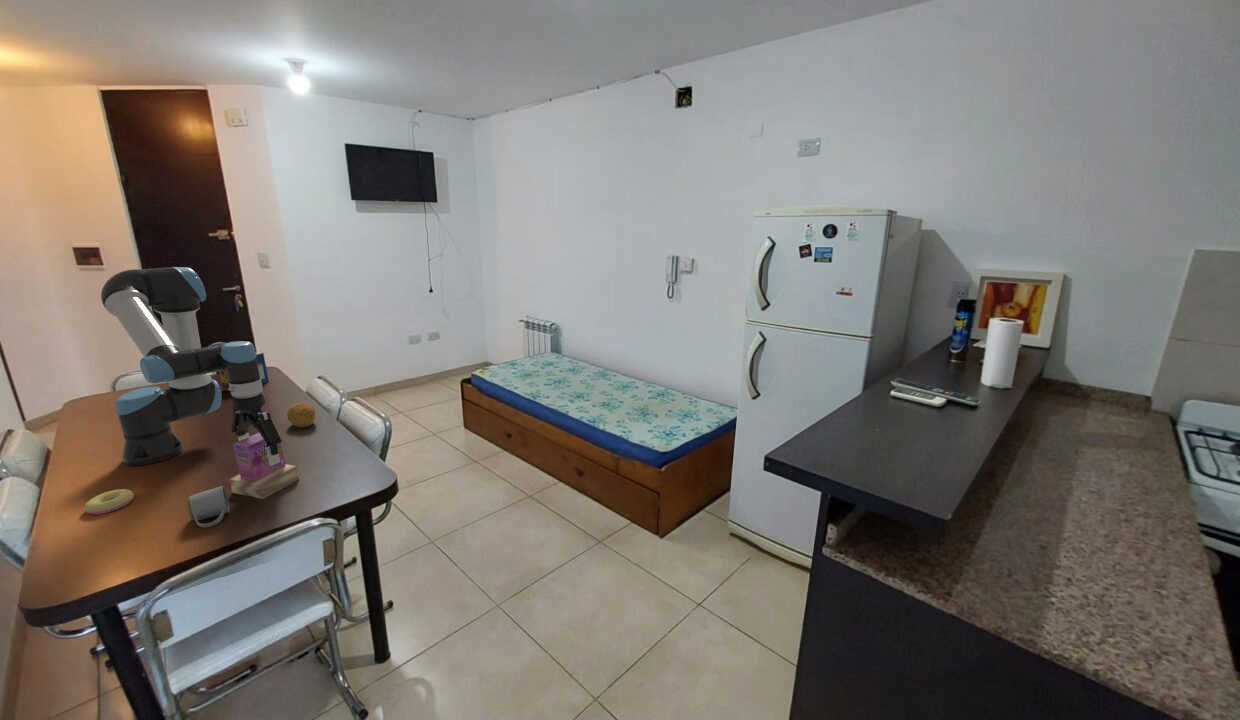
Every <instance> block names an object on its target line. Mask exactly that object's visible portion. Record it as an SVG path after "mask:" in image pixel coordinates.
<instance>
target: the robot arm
mask: <svg viewBox="0 0 1240 720" xmlns="http://www.w3.org/2000/svg"><path fill="white" fill-rule="evenodd" d="M100 300H101V303H102V305H103V307H104V309H105V311H107V312H108V313H109V314H111V315H112V316H115V317H116V318H117V320H118V321H119V323H121V325H122V327H123V329H124V330H125V331H126V332H127V334H128V336H129V337H130V338H131V340H132V341H133V343H134V344H135V346H136V347H137V348H138V350H139V351H140V353H141V354H142V356H143V357H142V358H140V360H139V366H140V367H139V368H140V371H141V373H142V375H143V378H144V379H145V381H146V382H148V383H149V384H158V383H164V382H166V383H168V388H165V389H162V388H160V387H159V386H148V387H141V388H137V389H133V390H131V391H129V392H126V393H123V394H121V395H120V396H118V398H117V399H115V402H114V408H115V414H116V415H117V418H118V422H119V425H120V428H121V431H122V435H123V438H124V444H123V448H122V455H121V459H122V461H123V464H124V465H126V466H131V467H133V466H134V467H136V466H139V467H140V466H145V465H151V464H155V463H160V462H164V461H166V460H168V459H171V458H173V457H176V456H178V455H180V454H181V453H182V452H183V451H184V446H183V442H182V441H181V440H180V438H179V437H178V436H177V435H176V434H175V432H174V431H173V430H172V426H171V423H173V422H176V421H182V420H186V419H190V418H192V417H197V416H200V415H203V416H204V415H206V414H209V413H212V412H216V410H218V409H219V408H220V407H221V404H222V399H223V398H222V396H223V395H222V391H221V387H220V385H219V383H218V381H217V380H216V379H213V378H212V377H211V375H209V374H211V373H215V372H219V371H222V370H225V371H226V374H227V379H228V383H229V387H230V388H228V389H229V390H230V391H229V392H230V395H231V400H232V411H233V412H232V413H233V414H232V416H233V417H232V424H231V433H233V434H234V433H235V436H237V439H238V442H239V441H241V440H243V439H246V438H248V437H250V436H251V435H250V433H249V432H250V431H249V428H250V425H251V426H252V427H253V428H254V429H256V430H257V431H258V433H260V434H261V436H262V437H263V439H264V441H265V442H266V444H267V445H266V446H265V447H266V451H267V456H268V461H269V465H270V466H272V465H275V464H277V463H279V462H280V458H279V452H278V447H277V444H278V443H281V444H282V442H283V441H282V438H281V437H280V436H281V435H280V433H279V434H278V432H279V431H278V430H277V428H276V426H275V424H274V422H273V420H272V417H271V414H270V412H269V411H266V412H263V410H262V407H263V406H264V405H266V399H265V394H264V392H263V391H264V389H263V384H262V383H261V378H260V374H259V368H258V363H257V358H256V349H255V346H254V343H252V342H251V341H244V340H242V341H241V340H240V341H230V342H223V341H219V342H218V341H217V342H214V343H211V344H210V345H208V346H206V347H205V346H203V347H202V345H201V340H200V334H199V328H198V327H199V326H198V321H197V316H196V313H197V311H198V310H200V309H201V304H200V303H201V302H204V301H206V300H207V292H206V290H205V286H204V284H203V282H202V280H201V278H200V276H199V275H198V274H197V272H195V270H193V269H192V268H191V267H185V266H184V267H182V266H181V267H179V266H178V267H177V266H172V267H157V268H143V269H135V268H134V269H127V270H122V271H121V272H117V273H116V274H114V275H113V276H111V277H109V279H108V280H107V281H106V282H105V283H104V285H103V286H102V289H101V293H100ZM150 307H152V309H153V310H152V309H151V308H150ZM153 311H154V312H156V313H158V314H160V316H161V322H162V323H161V322H160V319H158V318H157V316H156V314H155V313H154V312H153ZM279 435H280V436H279Z"/></svg>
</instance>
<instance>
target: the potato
mask: <svg viewBox="0 0 1240 720" xmlns="http://www.w3.org/2000/svg"><path fill="white" fill-rule="evenodd" d="M315 411H316V410H315V407H314V405H312V404H310V403H308V402H296V403H293V404H292V405H290V407H289V409H288V410H287V412H286V417H287V420H288V421H289V423H290V424H292V425H293V426H294V427H297V428H307V427H309V426H311V425H312V424H313V423H315V420H316V412H315Z"/></svg>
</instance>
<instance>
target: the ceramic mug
mask: <svg viewBox="0 0 1240 720" xmlns="http://www.w3.org/2000/svg"><path fill="white" fill-rule="evenodd" d="M228 498H229V497H228V495H227V492H226V488H225V486H224V485H221V486H218V487H213V488H210V489H208V490H205V491H200V492H198V493H194V494H192V495H190V496H188V498H186V506H187V511H188V514H189V517H190V519H191V520H192V521H195V523H196V525H197V526H198V527H200V528H211V527H213V526H215V525H216V526H217V524H220V522H221V521H222V520H223V518H224V516H225V514H228V513H230V503H229V499H228ZM216 516H217V518H216V519H215V520H213V521H212V522H208V523H203V522H200V521H202V520H206V519H209V518H212V517H216Z"/></svg>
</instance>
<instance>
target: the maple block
mask: <svg viewBox="0 0 1240 720" xmlns="http://www.w3.org/2000/svg"><path fill="white" fill-rule="evenodd" d="M297 468H298V467H297V465H292V464H286V463H285V465H284V466H283V467H281V468H279V469H277V470H275V471H273V472H271V473H270V474H268V475H266V476H264V477H262V478H260V479H258V480H256V481H250V480H245V479H241V477H240V473H239V474H236V475H235V476H232V477H230V478H229V484H230V489H231V493H233V494H237V495H241V496H246V497H251V498H256V499H261V500H264V499H266V498H268V497H269V496H271V495H273V494H275V493H277V492H278V491H280V490H282V489H284V488H286V487H287V486H289V485H291V484H293V483H294V482H296V481H298V480H299V479H300V477H299V473H298V469H297Z"/></svg>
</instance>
